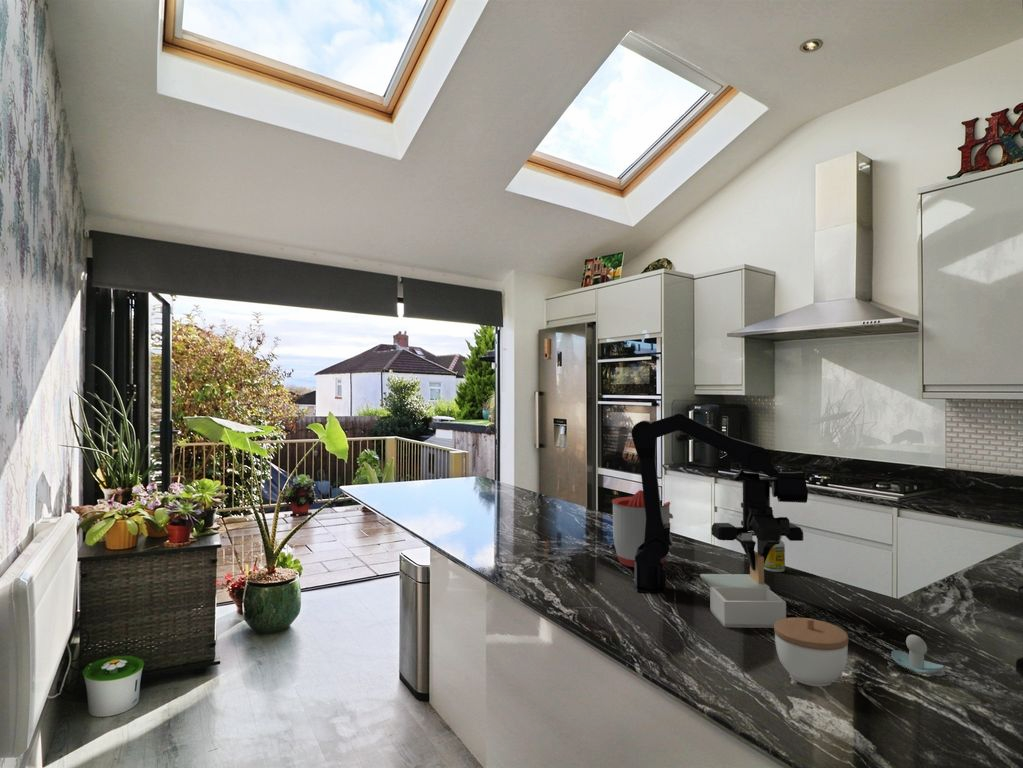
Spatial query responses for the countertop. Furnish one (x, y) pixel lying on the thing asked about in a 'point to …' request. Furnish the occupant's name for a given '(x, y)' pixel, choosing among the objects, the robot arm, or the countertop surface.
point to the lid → (739, 577)
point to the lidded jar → (811, 650)
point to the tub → (746, 606)
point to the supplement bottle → (776, 558)
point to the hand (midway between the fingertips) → (756, 569)
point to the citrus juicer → (632, 525)
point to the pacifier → (917, 658)
